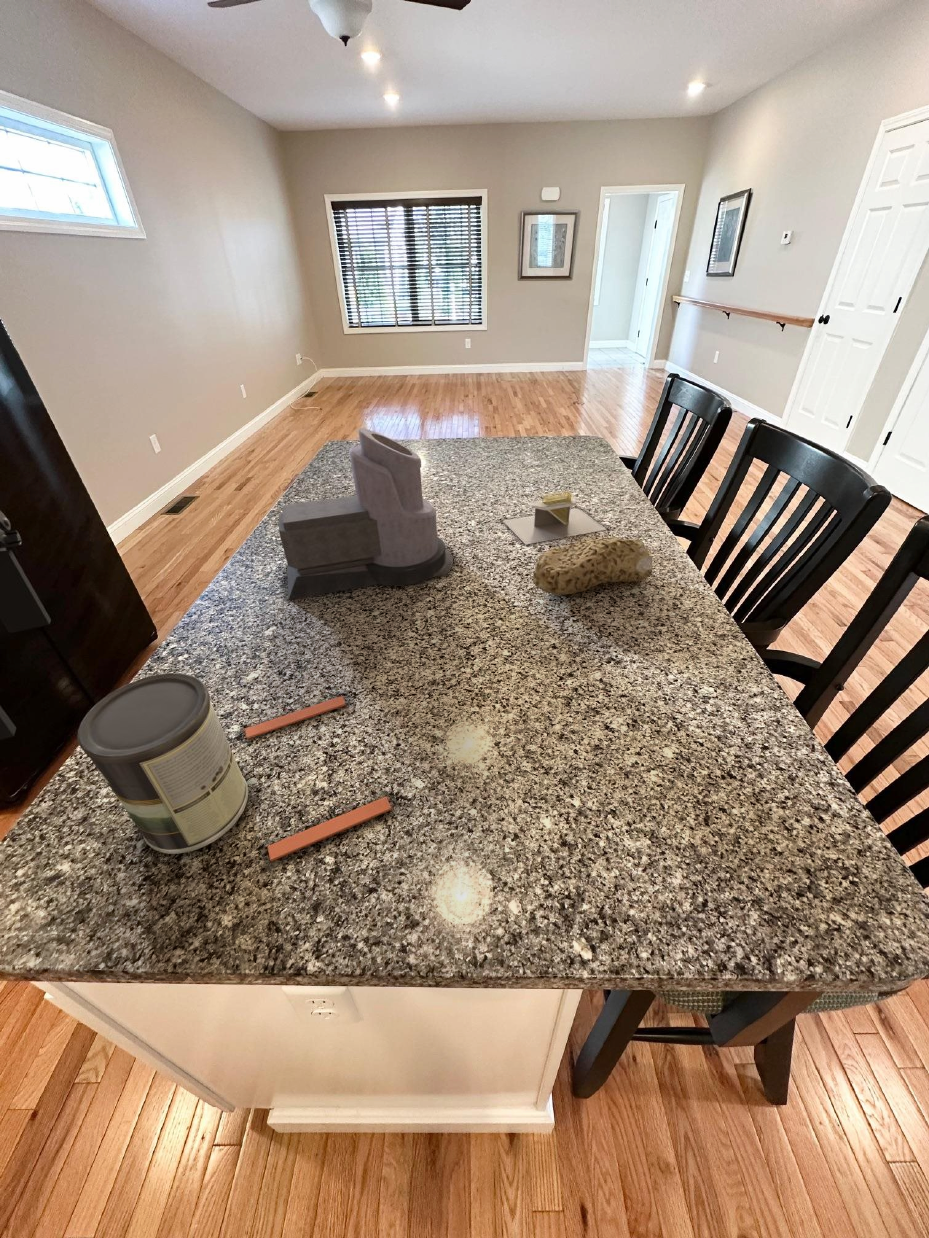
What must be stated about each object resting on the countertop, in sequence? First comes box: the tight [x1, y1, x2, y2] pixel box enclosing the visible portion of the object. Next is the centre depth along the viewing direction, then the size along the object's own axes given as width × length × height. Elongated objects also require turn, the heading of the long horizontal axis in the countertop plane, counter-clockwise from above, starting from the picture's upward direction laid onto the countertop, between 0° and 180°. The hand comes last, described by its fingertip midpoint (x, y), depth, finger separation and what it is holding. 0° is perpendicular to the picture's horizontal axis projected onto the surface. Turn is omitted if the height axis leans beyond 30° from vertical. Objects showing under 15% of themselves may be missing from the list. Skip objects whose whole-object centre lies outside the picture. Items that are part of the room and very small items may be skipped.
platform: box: [502, 490, 607, 545], centre depth 105 cm, size 12×18×7 cm, turn 109°
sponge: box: [532, 537, 653, 596], centre depth 85 cm, size 13×8×20 cm
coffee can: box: [76, 672, 249, 855], centre depth 49 cm, size 10×10×14 cm
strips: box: [244, 695, 393, 862], centre depth 57 cm, size 12×19×1 cm, turn 26°
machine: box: [278, 427, 454, 601], centre depth 87 cm, size 30×16×24 cm, turn 107°
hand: (12, 675), depth 37 cm, fingers open, 13 cm apart
